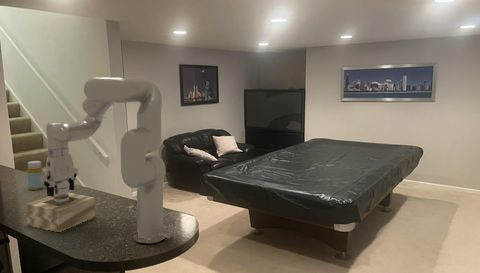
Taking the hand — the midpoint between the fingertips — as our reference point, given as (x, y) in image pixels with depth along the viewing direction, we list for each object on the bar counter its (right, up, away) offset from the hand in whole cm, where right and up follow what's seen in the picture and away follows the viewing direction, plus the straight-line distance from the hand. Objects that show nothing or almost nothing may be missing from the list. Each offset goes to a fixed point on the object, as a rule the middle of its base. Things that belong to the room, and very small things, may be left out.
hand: (61, 192), depth 141 cm
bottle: (-37, -5, +45) cm, 59 cm away
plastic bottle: (0, -11, +2) cm, 12 cm away
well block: (0, -12, +2) cm, 12 cm away
